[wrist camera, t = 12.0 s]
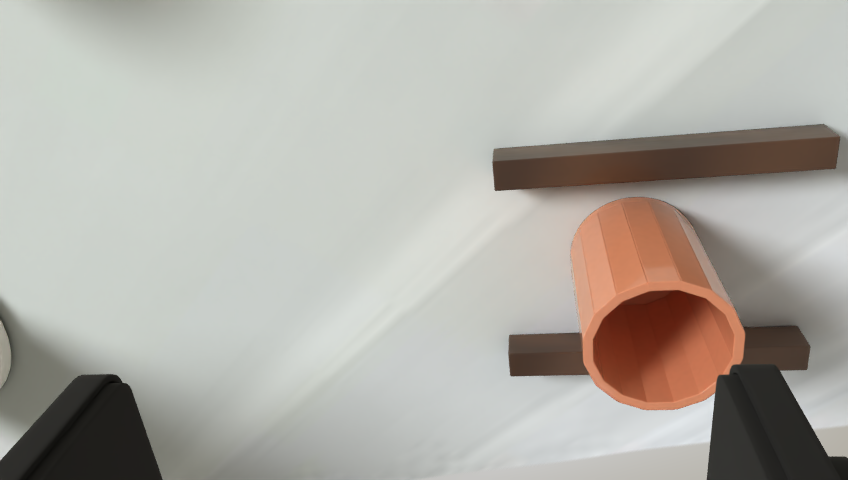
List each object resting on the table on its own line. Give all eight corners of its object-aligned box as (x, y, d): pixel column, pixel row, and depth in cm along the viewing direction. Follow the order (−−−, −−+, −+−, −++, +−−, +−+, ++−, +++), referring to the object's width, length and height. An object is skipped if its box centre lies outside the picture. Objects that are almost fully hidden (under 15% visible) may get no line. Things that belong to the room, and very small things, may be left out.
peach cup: (572, 307, 40) (584, 411, 32) (568, 200, 37) (581, 285, 29) (694, 303, 39) (739, 409, 31) (700, 192, 36) (750, 277, 28)
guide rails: (510, 356, 42) (510, 377, 40) (493, 148, 37) (492, 161, 35) (794, 349, 40) (807, 370, 38) (824, 123, 34) (840, 136, 32)
